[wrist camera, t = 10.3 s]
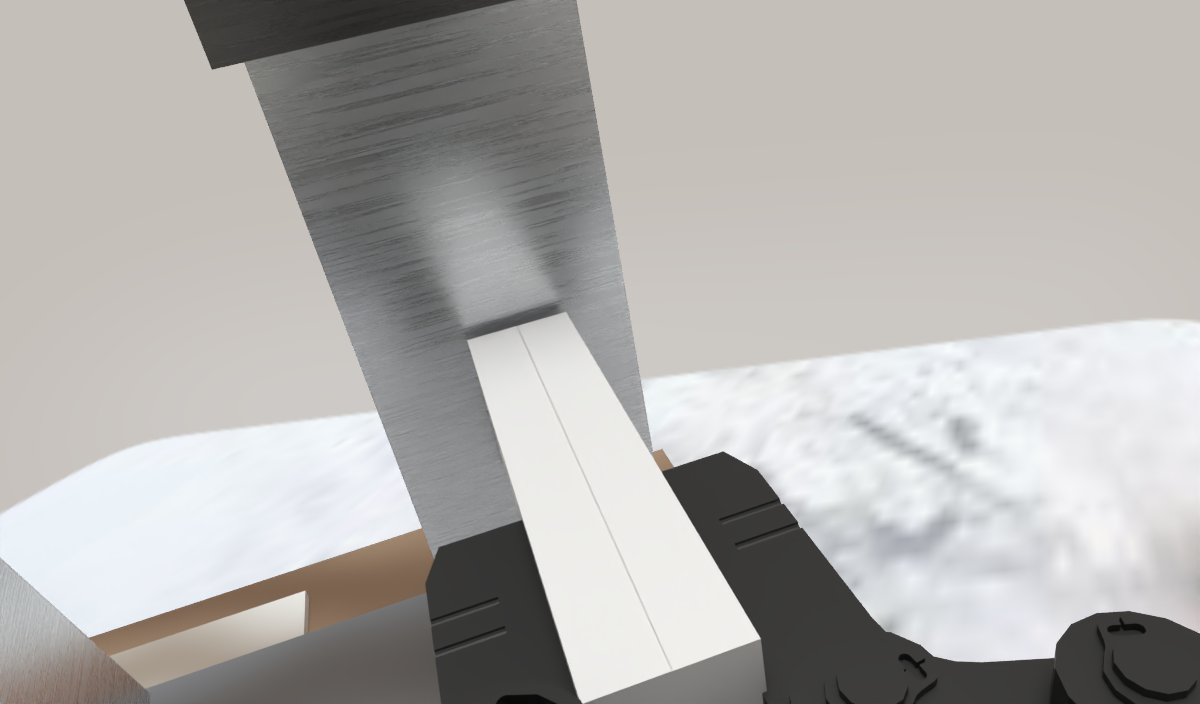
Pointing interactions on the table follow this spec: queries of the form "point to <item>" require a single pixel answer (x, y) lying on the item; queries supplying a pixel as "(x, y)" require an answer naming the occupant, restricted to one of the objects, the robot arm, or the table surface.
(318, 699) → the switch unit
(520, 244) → the lever
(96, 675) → the lever middle
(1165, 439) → the table surface
